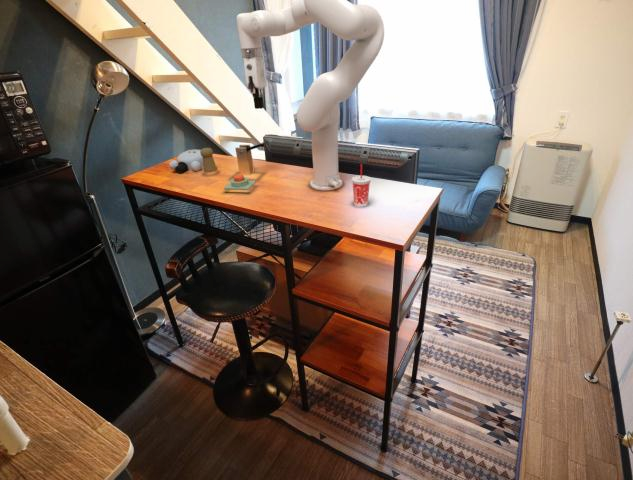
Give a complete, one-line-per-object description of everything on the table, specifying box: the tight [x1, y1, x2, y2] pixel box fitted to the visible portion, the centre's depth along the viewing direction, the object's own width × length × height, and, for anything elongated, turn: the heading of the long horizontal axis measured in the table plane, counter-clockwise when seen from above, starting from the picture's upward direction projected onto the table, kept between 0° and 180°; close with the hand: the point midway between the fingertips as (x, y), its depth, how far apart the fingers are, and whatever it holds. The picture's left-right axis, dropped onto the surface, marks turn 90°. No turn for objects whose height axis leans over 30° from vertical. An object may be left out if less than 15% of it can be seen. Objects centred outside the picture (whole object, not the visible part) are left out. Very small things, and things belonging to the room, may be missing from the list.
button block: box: [223, 176, 257, 195], centre depth 132 cm, size 10×8×4 cm
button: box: [233, 174, 245, 182], centre depth 131 cm, size 4×4×2 cm
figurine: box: [168, 149, 204, 175], centre depth 156 cm, size 17×8×20 cm
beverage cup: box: [351, 163, 371, 208], centre depth 112 cm, size 6×6×14 cm
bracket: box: [235, 144, 255, 176], centre depth 142 cm, size 12×9×13 cm
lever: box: [245, 139, 269, 153], centre depth 139 cm, size 12×5×2 cm, turn 77°
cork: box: [200, 147, 218, 173], centre depth 149 cm, size 6×6×11 cm
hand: (259, 108), depth 132 cm, fingers closed
